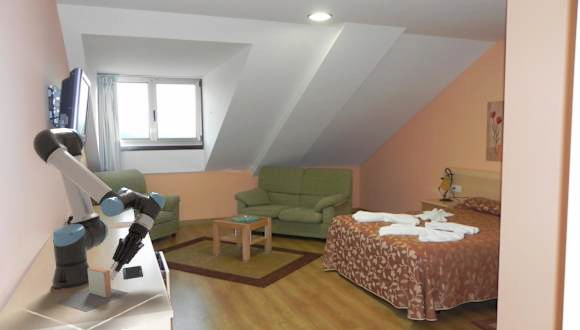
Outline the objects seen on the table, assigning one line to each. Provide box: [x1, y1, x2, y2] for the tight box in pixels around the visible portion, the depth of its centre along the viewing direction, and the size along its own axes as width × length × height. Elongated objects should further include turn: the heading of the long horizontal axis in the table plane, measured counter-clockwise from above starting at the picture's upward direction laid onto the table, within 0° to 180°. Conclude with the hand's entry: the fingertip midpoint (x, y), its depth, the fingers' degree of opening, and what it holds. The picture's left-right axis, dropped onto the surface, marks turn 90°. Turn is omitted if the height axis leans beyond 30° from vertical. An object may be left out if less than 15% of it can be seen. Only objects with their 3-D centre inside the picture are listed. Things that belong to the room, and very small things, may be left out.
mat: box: [55, 287, 129, 313], centre depth 160 cm, size 18×18×1 cm
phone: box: [122, 265, 144, 280], centre depth 185 cm, size 8×1×15 cm
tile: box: [87, 266, 112, 298], centre depth 162 cm, size 10×2×10 cm, turn 60°
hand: (109, 278), depth 166 cm, fingers closed
